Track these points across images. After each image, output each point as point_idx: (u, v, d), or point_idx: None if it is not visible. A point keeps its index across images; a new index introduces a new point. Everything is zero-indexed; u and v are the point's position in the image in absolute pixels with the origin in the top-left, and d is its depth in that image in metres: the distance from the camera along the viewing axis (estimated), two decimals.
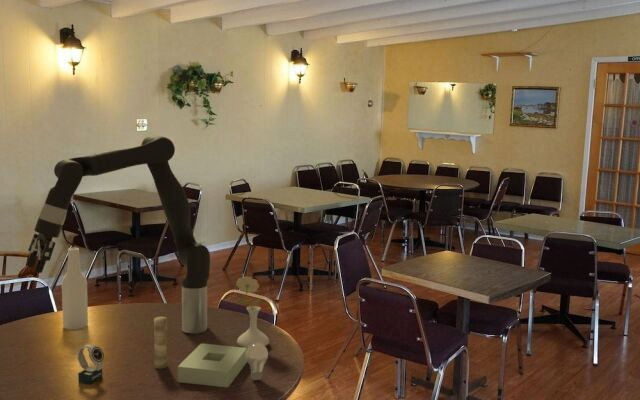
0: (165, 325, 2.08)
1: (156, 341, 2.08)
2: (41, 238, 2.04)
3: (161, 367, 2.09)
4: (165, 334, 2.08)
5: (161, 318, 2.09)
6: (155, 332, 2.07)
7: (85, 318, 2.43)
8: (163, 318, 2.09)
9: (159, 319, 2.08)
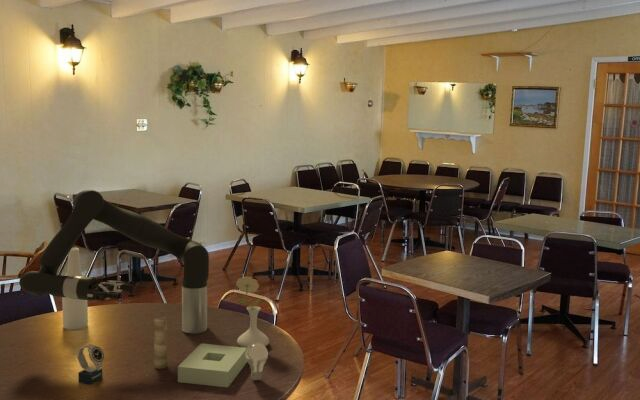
0: (165, 325, 2.08)
1: (156, 341, 2.08)
2: None
3: (161, 367, 2.09)
4: (165, 334, 2.08)
5: (161, 318, 2.09)
6: (155, 332, 2.07)
7: (85, 318, 2.43)
8: (163, 318, 2.09)
9: (159, 319, 2.08)
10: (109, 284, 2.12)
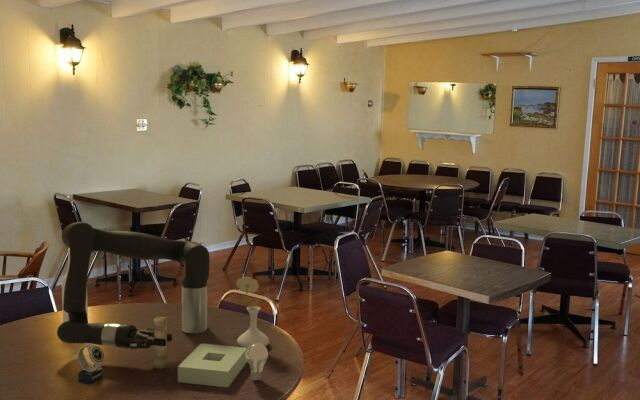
0: (165, 325, 2.08)
1: None
2: None
3: (161, 367, 2.09)
4: (165, 334, 2.08)
5: (161, 318, 2.09)
6: (155, 332, 2.07)
7: None
8: (163, 318, 2.09)
9: (159, 319, 2.08)
10: (146, 332, 2.11)
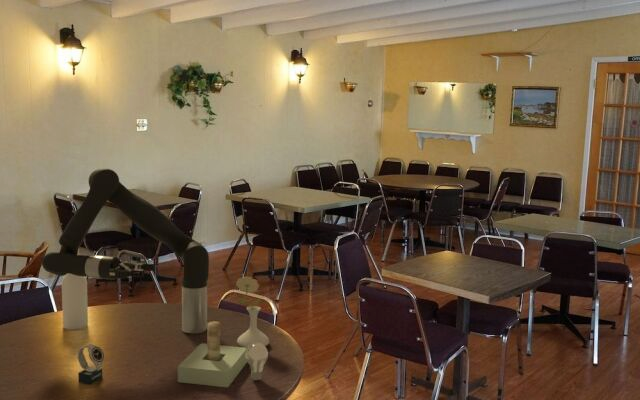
0: (219, 330, 2.05)
1: (210, 346, 2.04)
2: None
3: None
4: (219, 339, 2.05)
5: (214, 323, 2.05)
6: (209, 337, 2.04)
7: (85, 318, 2.43)
8: (216, 323, 2.05)
9: (212, 324, 2.05)
10: (130, 263, 2.15)
